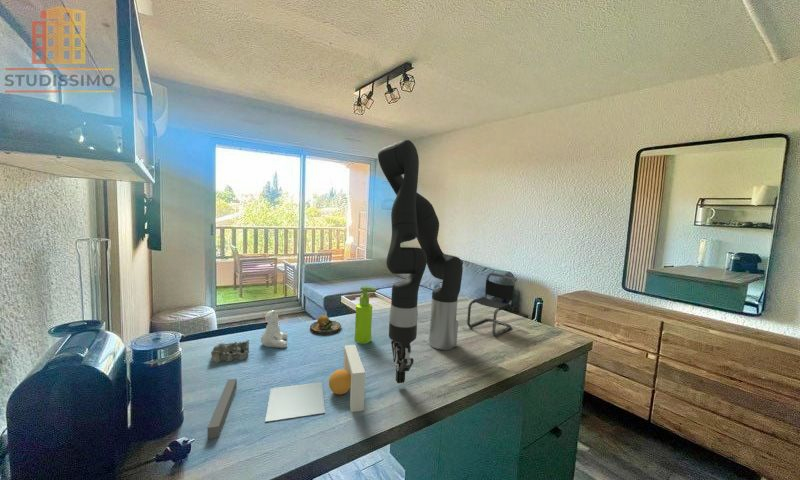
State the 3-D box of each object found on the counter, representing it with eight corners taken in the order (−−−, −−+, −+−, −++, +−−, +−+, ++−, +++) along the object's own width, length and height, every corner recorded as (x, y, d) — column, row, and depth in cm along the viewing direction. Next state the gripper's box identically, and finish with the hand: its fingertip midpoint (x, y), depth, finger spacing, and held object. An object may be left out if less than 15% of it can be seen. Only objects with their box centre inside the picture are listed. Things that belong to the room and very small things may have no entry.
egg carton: (209, 365, 91) (209, 352, 91) (214, 353, 98) (214, 341, 97) (248, 360, 95) (247, 348, 94) (250, 349, 101) (250, 338, 101)
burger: (345, 332, 119) (345, 314, 118) (315, 338, 113) (315, 318, 112) (334, 322, 129) (334, 305, 128) (306, 327, 123) (306, 309, 122)
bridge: (353, 377, 88) (355, 344, 87) (363, 410, 74) (365, 372, 73) (343, 378, 87) (344, 345, 86) (351, 412, 73) (352, 373, 72)
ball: (347, 386, 84) (353, 366, 84) (350, 400, 78) (355, 378, 78) (326, 384, 82) (331, 363, 82) (326, 398, 77) (332, 376, 76)
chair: (514, 327, 133) (518, 278, 130) (493, 338, 121) (498, 283, 118) (487, 319, 142) (491, 272, 140) (466, 327, 130) (469, 276, 128)
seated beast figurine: (287, 348, 103) (287, 314, 102) (259, 351, 100) (259, 316, 99) (287, 337, 112) (287, 305, 111) (261, 339, 109) (261, 306, 108)
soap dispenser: (370, 344, 109) (373, 290, 107) (352, 342, 110) (354, 288, 108) (375, 338, 115) (377, 286, 113) (357, 335, 116) (359, 284, 114)
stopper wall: (236, 387, 80) (236, 378, 80) (218, 437, 63) (218, 426, 63) (228, 388, 79) (228, 379, 79) (207, 439, 62) (207, 427, 62)
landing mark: (321, 382, 84) (321, 382, 84) (325, 413, 72) (325, 412, 72) (270, 388, 80) (270, 388, 80) (264, 422, 68) (264, 421, 68)
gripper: (425, 329, 77) (421, 394, 79) (408, 311, 90) (405, 367, 92) (397, 331, 75) (393, 398, 77) (383, 313, 88) (380, 370, 89)
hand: (400, 381), depth 84 cm, fingers closed
